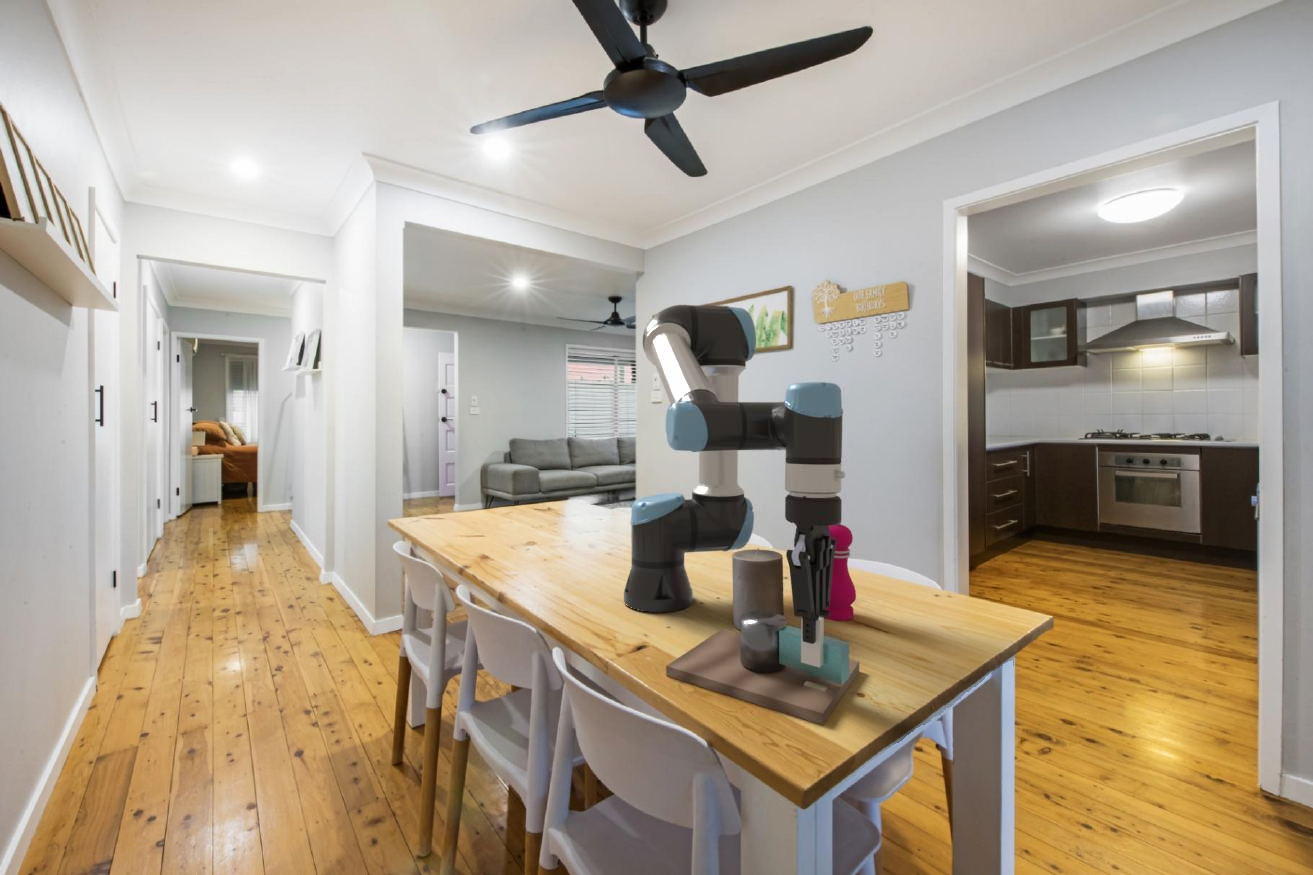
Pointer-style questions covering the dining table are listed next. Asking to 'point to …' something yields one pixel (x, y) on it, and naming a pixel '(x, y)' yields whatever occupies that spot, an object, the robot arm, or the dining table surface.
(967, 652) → the dining table surface
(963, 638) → the dining table surface
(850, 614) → the pepper mill
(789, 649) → the cylinder with teal slab
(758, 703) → the base
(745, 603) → the pillar candle
